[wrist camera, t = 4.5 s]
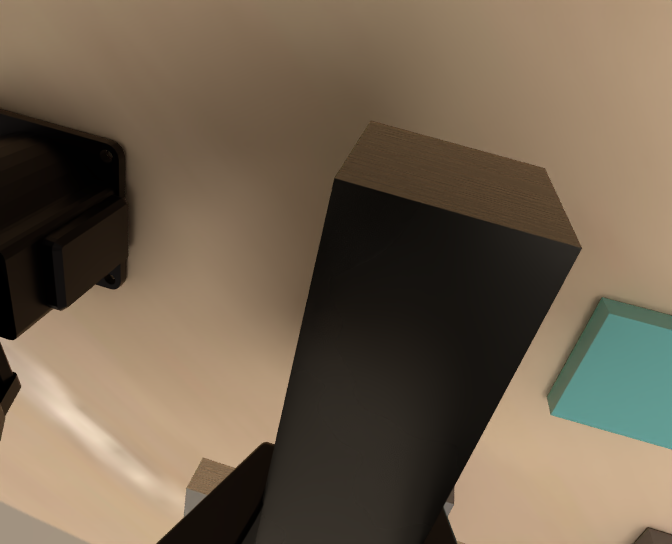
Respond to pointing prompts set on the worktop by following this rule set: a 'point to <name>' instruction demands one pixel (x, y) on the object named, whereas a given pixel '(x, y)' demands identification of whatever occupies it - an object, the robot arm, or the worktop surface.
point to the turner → (406, 337)
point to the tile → (620, 374)
